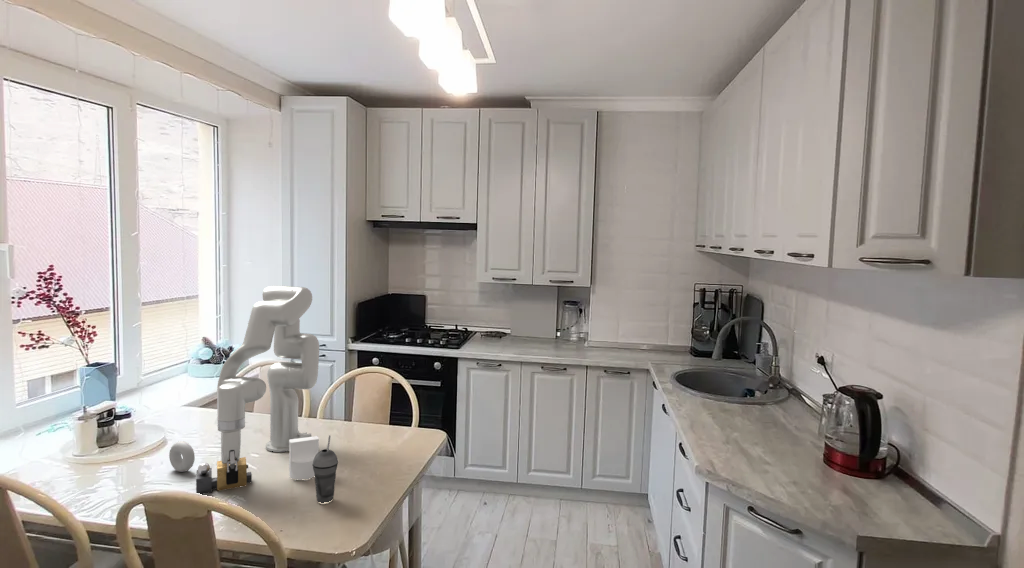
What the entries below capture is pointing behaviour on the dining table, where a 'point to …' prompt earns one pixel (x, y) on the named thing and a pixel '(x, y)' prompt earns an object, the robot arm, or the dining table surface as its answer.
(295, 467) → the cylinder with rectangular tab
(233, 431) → the robot arm
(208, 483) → the rail
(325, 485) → the beverage cup
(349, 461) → the dining table surface
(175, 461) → the donut
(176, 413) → the dining table surface
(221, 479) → the block
